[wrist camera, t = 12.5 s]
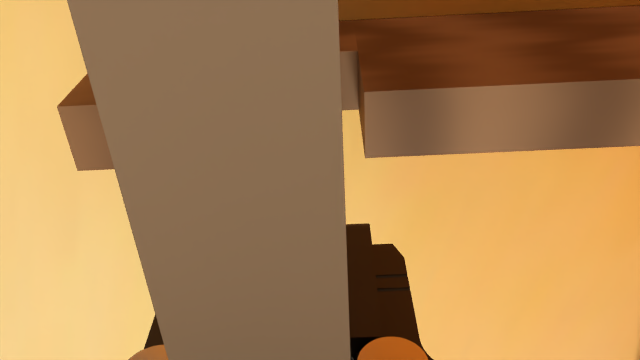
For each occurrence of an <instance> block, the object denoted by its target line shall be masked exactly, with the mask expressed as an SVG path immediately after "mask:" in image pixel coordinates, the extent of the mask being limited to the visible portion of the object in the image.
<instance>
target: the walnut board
mask: <svg viewBox="0 0 640 360" xmlns="http://www.w3.org/2000/svg"><path fill="white" fill-rule="evenodd" d="M339 46H340V75H341V103H342V110H358V109H359V114H360V122H361V130H362V137H363V145H364V153H365V158H376V157H398V156H421V155H443V154H466V153H488V152H511V151H534V150H556V149H579V148H601V147H624V146H640V6H621V7H601V8H582V9H562V10H543V11H523V12H504V13H484V14H465V15H445V16H426V17H406V18H387V19H367V20H348V21H339ZM57 108H58V111H59V114H60V117H61V121H62V124H63V127H64V130H65V133H66V136H67V139H68V142H69V145H70V149H71V152H72V155H73V158H74V161H75V164H76V167H77V170H78V171H83V170H105V169H114V165H113V161H112V158H111V154H110V151H109V147H108V144H107V140H106V137H105V133H104V129H103V126H102V122H101V119H100V115H99V112H98V108H97V105H96V101H95V98H94V94H93V90H92V87H91V83H90V80H89V76H88V74H87V75H86V76H85V77H84V78H83V79H82V80H81V81H80V82H79V83H78V84H77V86H76V87H75V88H74V89H73V90H72V91H71V92H70V93H69V94H68V95H67V96H66V97H65V99H64V100H63V101H62V102H61V103H60V104H59V105H58V106H57Z"/></svg>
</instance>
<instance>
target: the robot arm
mask: <svg viewBox="0 0 640 360" xmlns="http://www.w3.org/2000/svg"><path fill="white" fill-rule="evenodd" d="M346 245H347V274H348V302H349V330H350V359H351V360H433V359H432V358H431V357H430V356H429V355H428V354H427V353H426V352H425V350H424V349H423V347H422V345H421V342H420V339H419V334H418V328H417V323H416V318H415V312H414V307H413V302H412V297H411V291H410V286H409V281H408V277H407V270H406V265H405V260H404V257H403V256H402V255H401V253H400V252H399V251H398V250H397V249H396V247H395V246H394V245H393V244H374V245H372V241H371V232H370V225H369V224H346ZM129 360H168V357H167V353H166V350H165V346H164V343H163V339H162V336H161V332H160V328H159V325H158V321H157V318H156V314H155V317H154V320H153V323H152V326H151V329H150V332H149V335H148V338H147V341H146V344H145V347H144V350H141V351H140V352H138V353H136V354H135V355H133V356H132V357H131V358H130V359H129Z"/></svg>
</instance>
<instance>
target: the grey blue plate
mask: <svg viewBox="0 0 640 360" xmlns="http://www.w3.org/2000/svg"><path fill="white" fill-rule="evenodd" d="M67 2H68V5H69V9H70V12H71V16H72V19H73V23H74V26H75V30H76V34H77V37H78V41H79V44H80V48H81V51H82V55H83V58H84V62H85V66H86V69H87V73H88V76H89V80H90V83H91V87H92V90H93V94H94V98H95V101H96V105H97V108H98V112H99V115H100V119H101V122H102V126H103V129H104V133H105V137H106V140H107V144H108V147H109V151H110V154H111V158H112V161H113V165H114V169H115V172H116V176H117V179H118V183H119V186H120V190H121V193H122V197H123V201H124V204H125V208H126V211H127V215H128V218H129V222H130V225H131V229H132V233H133V236H134V240H135V243H136V247H137V250H138V254H139V257H140V261H141V264H142V268H143V272H144V275H145V279H146V282H147V286H148V289H149V293H150V296H151V300H152V304H153V307H154V311H155V314H156V318H157V321H158V325H159V328H160V332H161V336H162V339H163V343H164V346H165V350H166V353H167V357H168V360H351V359H350V330H349V302H348V274H347V245H346V217H345V188H344V160H343V132H342V103H341V75H340V46H339V18H338V0H67Z"/></svg>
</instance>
